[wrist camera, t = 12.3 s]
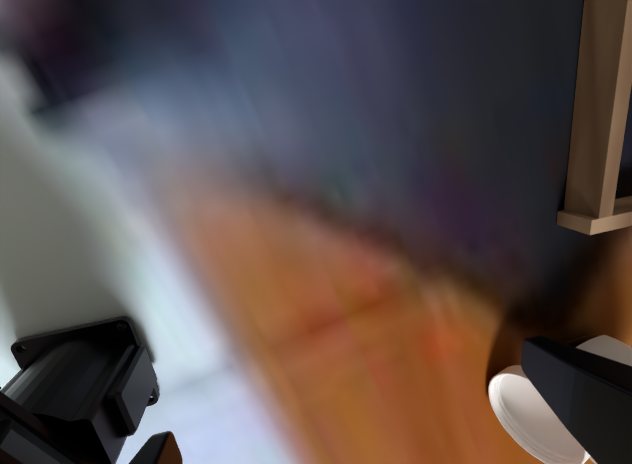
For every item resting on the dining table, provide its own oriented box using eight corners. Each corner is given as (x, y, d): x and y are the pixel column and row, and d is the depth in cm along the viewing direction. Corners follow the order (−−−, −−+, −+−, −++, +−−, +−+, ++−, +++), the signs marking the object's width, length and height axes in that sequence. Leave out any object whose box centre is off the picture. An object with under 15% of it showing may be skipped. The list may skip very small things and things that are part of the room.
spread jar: (619, 382, 30) (829, 527, 19) (516, 451, 30) (664, 634, 19) (582, 290, 26) (822, 407, 15) (464, 371, 26) (614, 545, 15)
